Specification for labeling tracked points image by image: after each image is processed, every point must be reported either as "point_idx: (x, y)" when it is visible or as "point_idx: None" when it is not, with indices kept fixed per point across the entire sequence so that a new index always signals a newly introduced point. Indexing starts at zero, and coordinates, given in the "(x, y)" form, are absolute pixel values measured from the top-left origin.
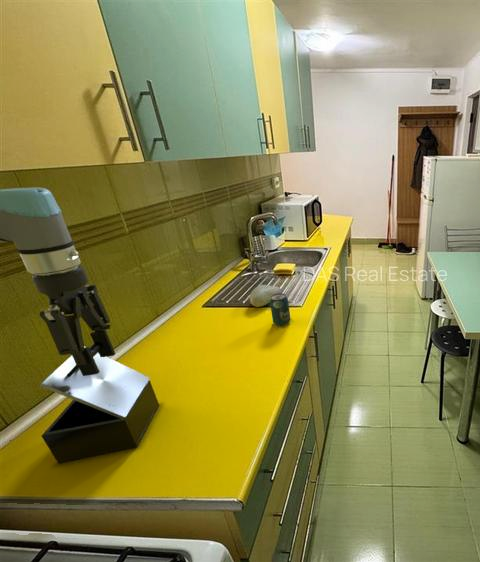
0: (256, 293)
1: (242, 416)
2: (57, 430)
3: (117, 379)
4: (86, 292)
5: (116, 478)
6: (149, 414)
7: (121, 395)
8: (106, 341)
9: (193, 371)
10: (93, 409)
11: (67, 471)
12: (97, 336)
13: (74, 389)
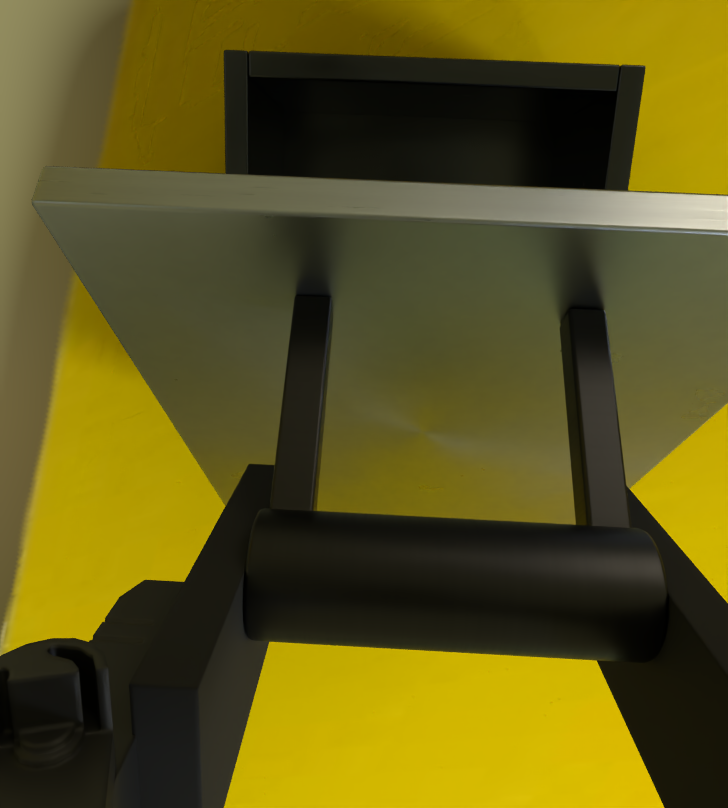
0: None
1: (322, 783)
2: (245, 134)
3: (479, 465)
4: None
5: (126, 396)
6: None
7: (355, 487)
8: (637, 735)
9: None
10: (570, 131)
11: (212, 166)
12: (701, 747)
13: (202, 365)
